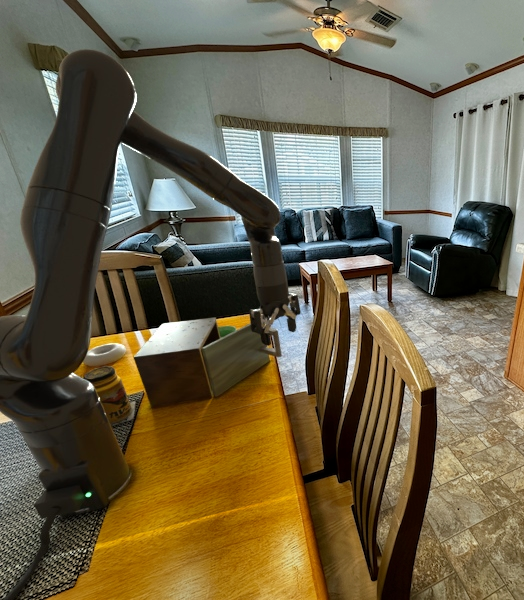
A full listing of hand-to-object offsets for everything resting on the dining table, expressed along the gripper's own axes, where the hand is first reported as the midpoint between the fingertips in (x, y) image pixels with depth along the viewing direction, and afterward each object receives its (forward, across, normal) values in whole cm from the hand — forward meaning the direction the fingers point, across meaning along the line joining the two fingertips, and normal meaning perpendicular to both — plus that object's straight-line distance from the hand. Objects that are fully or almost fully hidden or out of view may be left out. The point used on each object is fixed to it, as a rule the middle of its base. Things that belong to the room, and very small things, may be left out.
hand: (280, 337), depth 88 cm
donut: (+11, +21, -52) cm, 57 cm away
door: (+10, +7, -4) cm, 13 cm away
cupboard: (+10, +15, -18) cm, 26 cm away
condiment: (+11, +32, -21) cm, 40 cm away
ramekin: (+11, -2, -30) cm, 31 cm away
